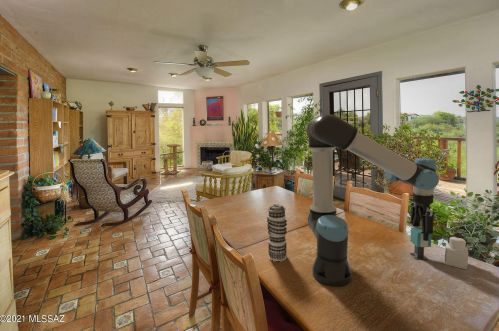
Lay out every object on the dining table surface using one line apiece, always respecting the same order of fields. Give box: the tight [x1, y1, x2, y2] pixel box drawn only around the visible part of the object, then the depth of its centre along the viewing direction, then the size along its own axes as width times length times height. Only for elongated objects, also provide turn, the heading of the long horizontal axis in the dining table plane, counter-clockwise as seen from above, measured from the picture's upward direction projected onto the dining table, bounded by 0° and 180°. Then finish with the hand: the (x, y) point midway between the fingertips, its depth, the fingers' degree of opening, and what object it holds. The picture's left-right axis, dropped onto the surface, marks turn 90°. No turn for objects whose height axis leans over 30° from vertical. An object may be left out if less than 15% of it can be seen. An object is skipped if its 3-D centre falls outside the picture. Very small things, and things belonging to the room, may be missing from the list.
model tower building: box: [266, 204, 288, 262], centre depth 113 cm, size 9×9×25 cm
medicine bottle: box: [444, 234, 469, 270], centre depth 103 cm, size 7×7×12 cm
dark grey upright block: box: [409, 245, 429, 261], centre depth 110 cm, size 5×5×7 cm
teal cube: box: [410, 227, 433, 248], centre depth 109 cm, size 6×6×7 cm
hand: (419, 243), depth 110 cm, fingers closed on teal cube, 6 cm apart
